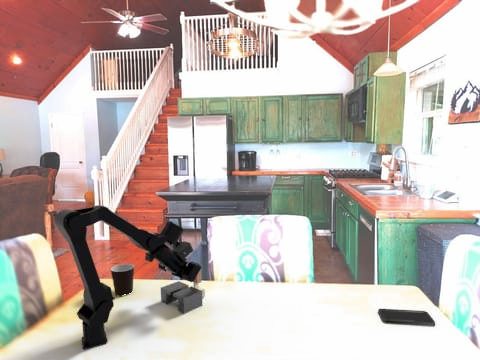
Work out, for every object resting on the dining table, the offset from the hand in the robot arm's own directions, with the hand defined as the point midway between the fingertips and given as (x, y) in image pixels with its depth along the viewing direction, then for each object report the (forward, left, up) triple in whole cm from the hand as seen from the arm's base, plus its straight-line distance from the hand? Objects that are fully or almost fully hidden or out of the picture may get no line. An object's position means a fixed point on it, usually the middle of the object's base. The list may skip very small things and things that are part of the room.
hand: (192, 278), depth 122 cm
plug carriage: (-1, +1, -7) cm, 8 cm away
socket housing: (-2, +5, -8) cm, 10 cm away
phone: (-49, -52, -8) cm, 72 cm away
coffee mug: (+21, +21, -8) cm, 30 cm away
